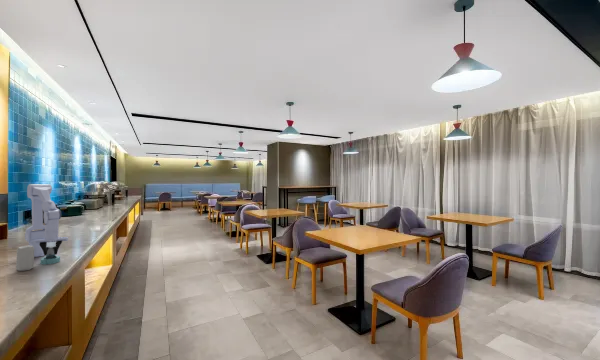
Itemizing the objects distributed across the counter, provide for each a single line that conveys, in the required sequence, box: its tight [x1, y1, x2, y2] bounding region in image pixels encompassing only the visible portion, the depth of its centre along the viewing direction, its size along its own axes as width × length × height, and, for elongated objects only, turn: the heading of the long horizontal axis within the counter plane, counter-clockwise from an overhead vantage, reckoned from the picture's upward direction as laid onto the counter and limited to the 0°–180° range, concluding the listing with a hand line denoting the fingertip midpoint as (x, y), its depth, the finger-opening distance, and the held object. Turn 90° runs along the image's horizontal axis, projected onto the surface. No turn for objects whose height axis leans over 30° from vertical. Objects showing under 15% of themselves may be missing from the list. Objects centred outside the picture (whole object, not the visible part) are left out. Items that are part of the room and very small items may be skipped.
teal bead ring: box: [40, 255, 61, 265], centre depth 151 cm, size 8×8×2 cm
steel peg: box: [45, 245, 56, 259], centre depth 151 cm, size 4×4×6 cm
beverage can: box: [15, 245, 35, 272], centre depth 138 cm, size 6×6×12 cm
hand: (50, 254), depth 151 cm, fingers closed on steel peg, 4 cm apart
